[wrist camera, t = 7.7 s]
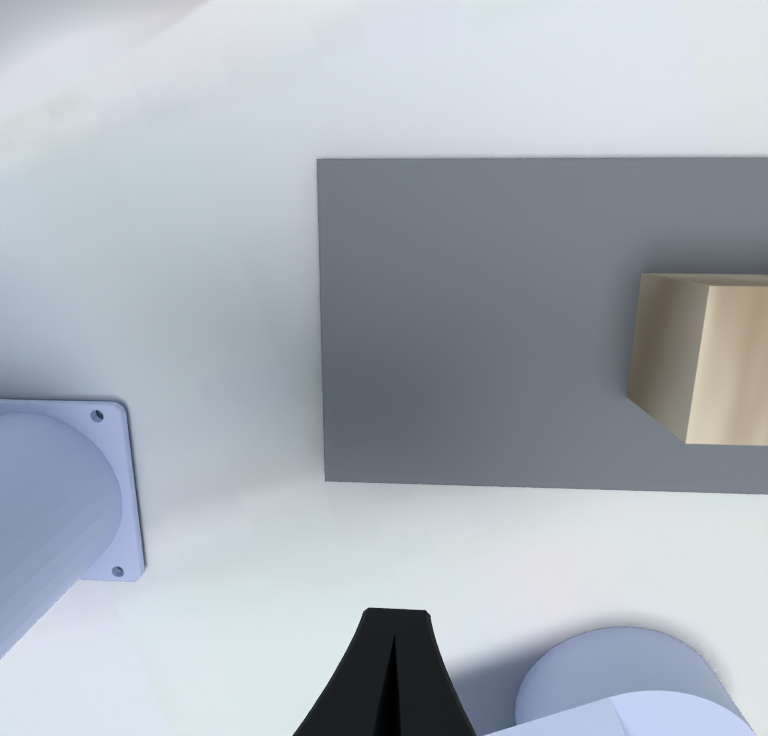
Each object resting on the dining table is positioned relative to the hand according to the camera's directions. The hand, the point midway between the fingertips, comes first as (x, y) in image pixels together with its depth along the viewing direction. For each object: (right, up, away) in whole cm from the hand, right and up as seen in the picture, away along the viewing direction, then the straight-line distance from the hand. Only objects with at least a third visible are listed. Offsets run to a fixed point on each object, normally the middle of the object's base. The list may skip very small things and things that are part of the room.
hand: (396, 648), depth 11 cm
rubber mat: (+8, +7, +8) cm, 14 cm away
